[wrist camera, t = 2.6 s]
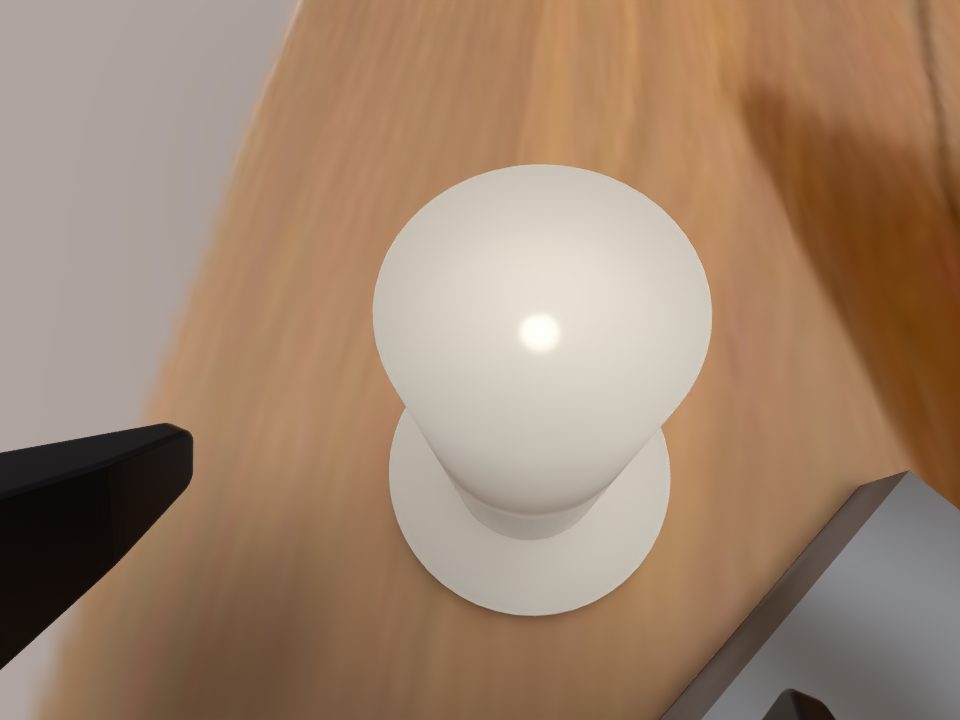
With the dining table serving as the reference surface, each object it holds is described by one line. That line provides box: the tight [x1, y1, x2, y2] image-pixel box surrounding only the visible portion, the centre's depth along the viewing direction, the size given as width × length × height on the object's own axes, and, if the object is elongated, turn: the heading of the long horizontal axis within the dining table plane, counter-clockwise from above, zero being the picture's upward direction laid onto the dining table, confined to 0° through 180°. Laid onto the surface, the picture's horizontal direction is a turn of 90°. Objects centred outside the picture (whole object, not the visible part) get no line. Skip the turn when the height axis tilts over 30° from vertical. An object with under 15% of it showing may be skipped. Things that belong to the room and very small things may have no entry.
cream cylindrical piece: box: [373, 165, 712, 616], centre depth 13 cm, size 8×8×12 cm
